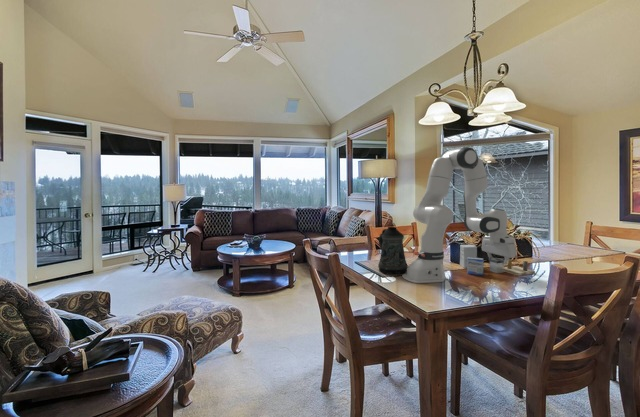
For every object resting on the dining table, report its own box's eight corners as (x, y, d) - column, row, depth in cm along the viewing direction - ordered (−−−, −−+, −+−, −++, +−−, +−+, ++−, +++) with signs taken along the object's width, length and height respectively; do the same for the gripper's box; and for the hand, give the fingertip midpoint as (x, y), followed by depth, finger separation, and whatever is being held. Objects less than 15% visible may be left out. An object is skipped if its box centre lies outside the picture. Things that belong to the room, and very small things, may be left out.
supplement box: (472, 265, 196) (472, 244, 195) (476, 268, 189) (477, 246, 188) (459, 265, 197) (459, 244, 196) (463, 268, 190) (464, 246, 189)
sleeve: (496, 273, 178) (497, 260, 178) (489, 270, 184) (489, 258, 183) (504, 272, 180) (504, 259, 179) (496, 269, 185) (496, 257, 185)
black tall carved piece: (400, 276, 175) (400, 230, 173) (368, 271, 187) (368, 228, 185) (412, 269, 188) (412, 227, 186) (381, 265, 200) (381, 224, 198)
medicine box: (466, 273, 178) (467, 258, 178) (467, 271, 182) (467, 256, 182) (483, 275, 175) (483, 259, 174) (483, 273, 179) (483, 258, 178)
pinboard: (518, 275, 174) (518, 264, 173) (499, 269, 185) (499, 259, 184) (534, 273, 177) (535, 262, 177) (515, 267, 189) (516, 257, 188)
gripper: (479, 235, 189) (478, 258, 190) (509, 241, 170) (508, 267, 171) (487, 234, 191) (487, 257, 192) (518, 240, 172) (518, 265, 173)
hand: (497, 262), depth 182 cm, fingers open, 8 cm apart
